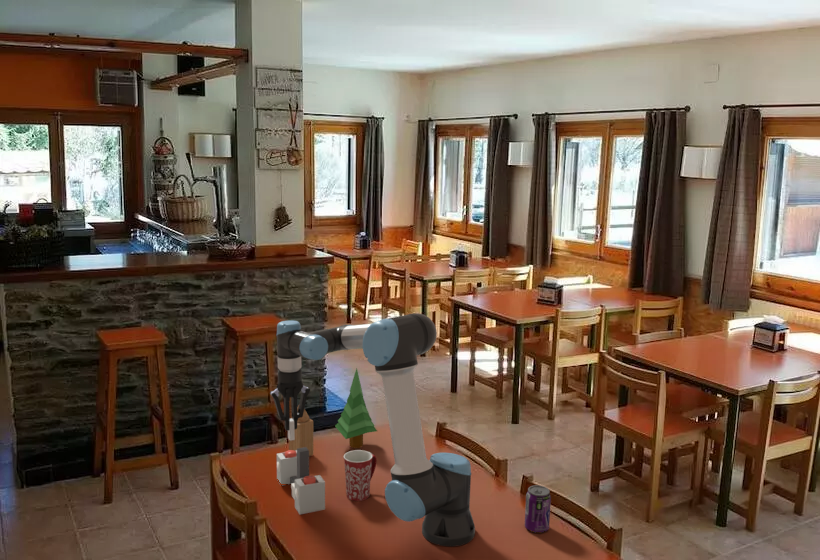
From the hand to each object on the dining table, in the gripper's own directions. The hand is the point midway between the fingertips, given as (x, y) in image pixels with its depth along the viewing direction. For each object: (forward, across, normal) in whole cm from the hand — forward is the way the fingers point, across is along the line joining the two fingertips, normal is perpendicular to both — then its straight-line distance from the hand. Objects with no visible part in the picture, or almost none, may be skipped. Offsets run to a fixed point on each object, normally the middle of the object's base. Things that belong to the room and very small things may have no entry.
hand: (291, 438), depth 238 cm
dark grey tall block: (+15, 0, +13) cm, 20 cm away
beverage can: (+16, -57, +57) cm, 82 cm away
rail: (+15, 0, +10) cm, 18 cm away
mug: (+15, -18, +17) cm, 29 cm away
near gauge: (+8, 0, +20) cm, 22 cm away
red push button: (+8, 0, -1) cm, 8 cm away
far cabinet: (+15, 0, -1) cm, 15 cm away
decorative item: (+15, -9, -19) cm, 25 cm away
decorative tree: (+15, -30, -19) cm, 38 cm away
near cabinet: (+15, 0, +20) cm, 25 cm away
